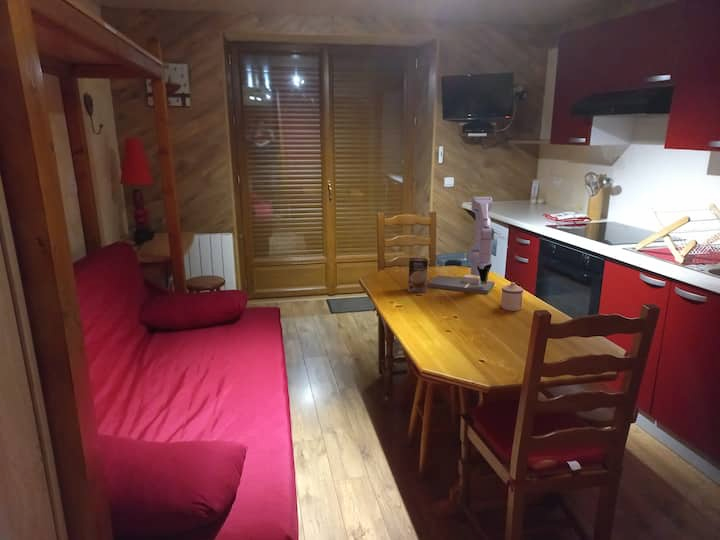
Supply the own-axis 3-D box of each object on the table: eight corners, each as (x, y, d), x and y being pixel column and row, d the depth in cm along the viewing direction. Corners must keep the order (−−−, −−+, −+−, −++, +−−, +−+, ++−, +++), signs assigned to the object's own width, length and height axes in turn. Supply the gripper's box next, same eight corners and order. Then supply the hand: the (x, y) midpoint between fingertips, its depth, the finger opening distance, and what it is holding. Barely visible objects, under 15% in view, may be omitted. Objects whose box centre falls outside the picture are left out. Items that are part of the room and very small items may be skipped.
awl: (480, 282, 244) (481, 268, 242) (487, 282, 242) (488, 269, 240) (479, 284, 240) (480, 270, 238) (486, 284, 239) (487, 271, 237)
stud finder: (465, 279, 255) (466, 274, 254) (481, 281, 251) (481, 275, 250) (463, 282, 250) (463, 276, 249) (478, 284, 247) (479, 278, 246)
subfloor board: (437, 278, 264) (437, 275, 264) (494, 285, 251) (494, 281, 251) (428, 286, 250) (428, 283, 250) (487, 294, 238) (487, 290, 237)
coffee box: (408, 292, 242) (408, 260, 238) (408, 288, 248) (408, 257, 244) (426, 292, 241) (427, 261, 237) (426, 288, 247) (427, 257, 243)
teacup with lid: (524, 311, 214) (526, 285, 211) (503, 311, 214) (505, 286, 211) (516, 302, 226) (518, 278, 223) (496, 302, 226) (497, 278, 223)
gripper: (480, 249, 245) (479, 275, 249) (473, 255, 233) (472, 282, 236) (494, 250, 242) (493, 276, 246) (488, 256, 230) (486, 284, 233)
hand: (483, 279), depth 241 cm, fingers closed on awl, 4 cm apart
